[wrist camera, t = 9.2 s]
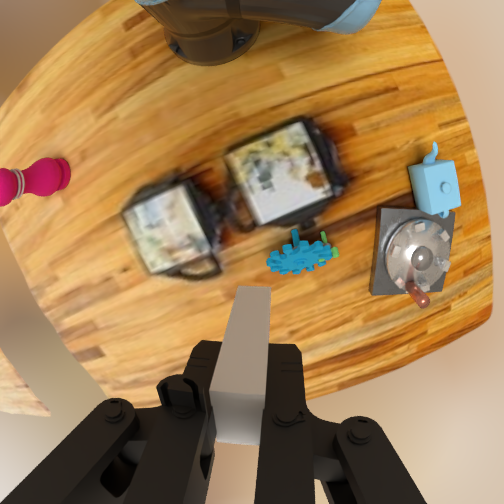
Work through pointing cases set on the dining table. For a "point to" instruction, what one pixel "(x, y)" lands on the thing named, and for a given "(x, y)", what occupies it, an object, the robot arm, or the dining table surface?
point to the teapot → (435, 185)
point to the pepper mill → (34, 179)
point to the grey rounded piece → (418, 257)
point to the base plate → (385, 228)
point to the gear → (301, 255)
